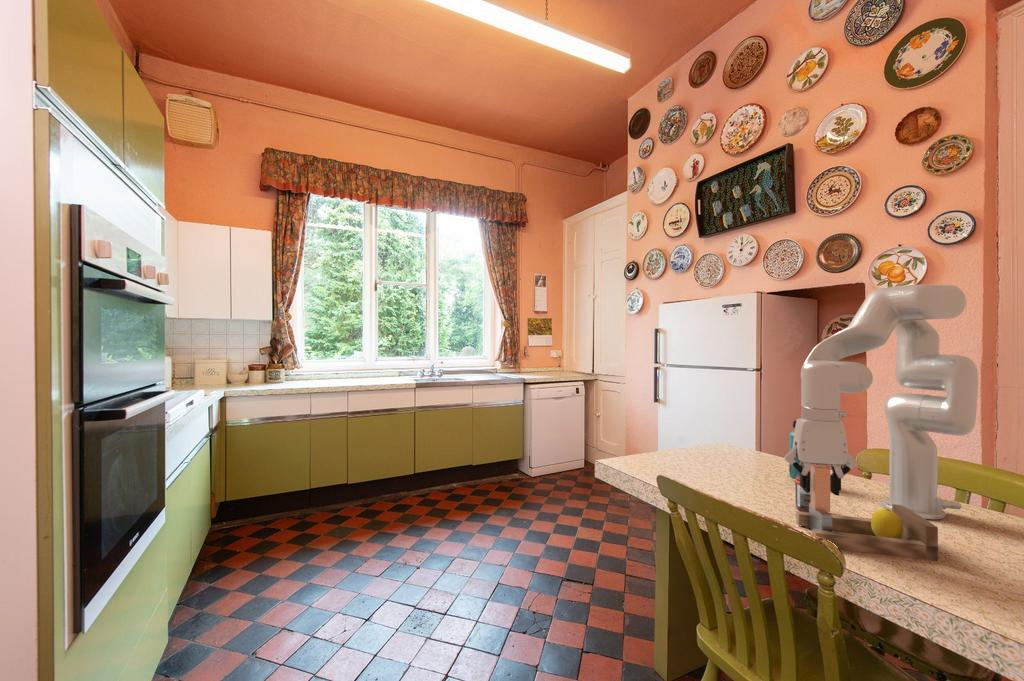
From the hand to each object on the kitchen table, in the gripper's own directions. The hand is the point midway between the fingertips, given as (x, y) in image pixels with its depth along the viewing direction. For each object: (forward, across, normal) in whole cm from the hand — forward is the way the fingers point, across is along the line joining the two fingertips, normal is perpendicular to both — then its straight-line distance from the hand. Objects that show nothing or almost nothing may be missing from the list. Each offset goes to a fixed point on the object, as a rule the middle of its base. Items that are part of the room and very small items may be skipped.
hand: (820, 491), depth 103 cm
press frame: (+10, -8, 0) cm, 13 cm away
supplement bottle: (+11, -3, -17) cm, 20 cm away
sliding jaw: (+10, 0, 0) cm, 10 cm away
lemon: (+11, -13, 0) cm, 17 cm away
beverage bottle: (+11, -9, -43) cm, 45 cm away
